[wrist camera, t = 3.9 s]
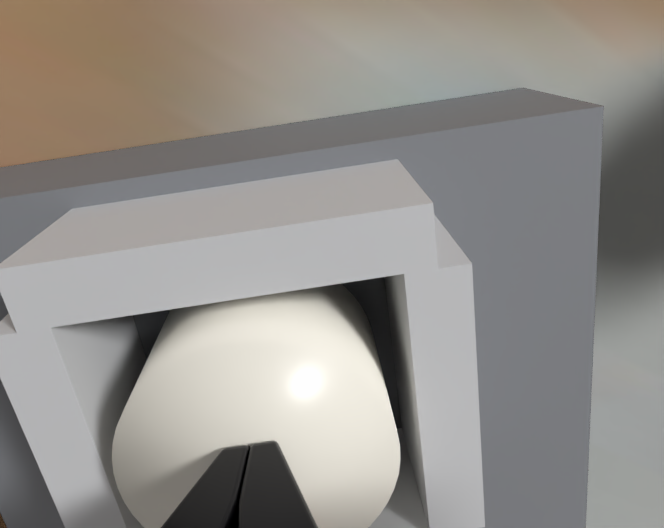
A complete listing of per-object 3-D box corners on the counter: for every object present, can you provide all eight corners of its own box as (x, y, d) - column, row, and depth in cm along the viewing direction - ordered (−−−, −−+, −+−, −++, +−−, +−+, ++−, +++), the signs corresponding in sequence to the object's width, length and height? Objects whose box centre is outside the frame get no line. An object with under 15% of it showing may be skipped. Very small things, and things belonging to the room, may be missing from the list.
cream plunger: (188, 456, 12) (154, 587, 9) (134, 276, 11) (72, 366, 8) (384, 426, 12) (412, 548, 9) (361, 242, 11) (385, 320, 8)
